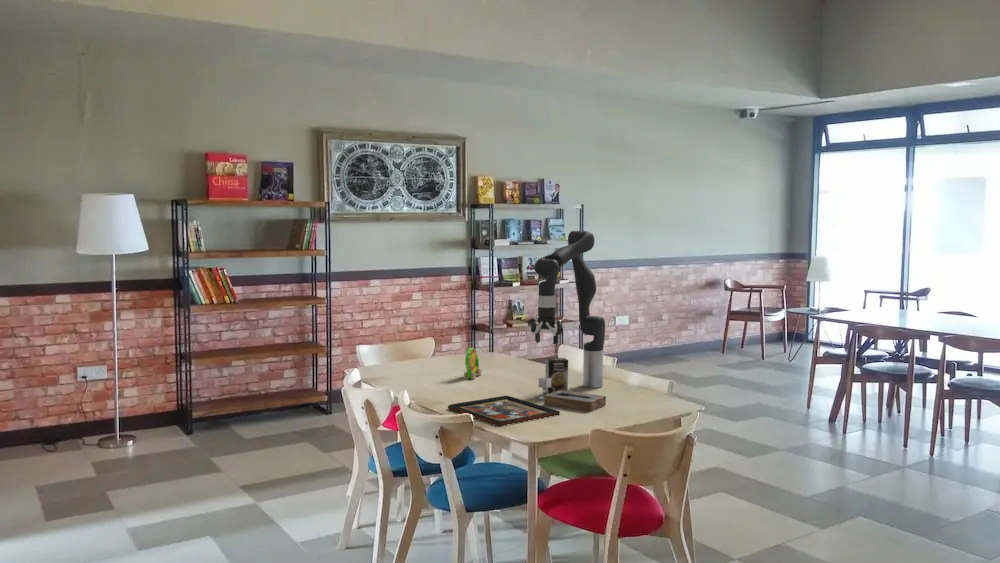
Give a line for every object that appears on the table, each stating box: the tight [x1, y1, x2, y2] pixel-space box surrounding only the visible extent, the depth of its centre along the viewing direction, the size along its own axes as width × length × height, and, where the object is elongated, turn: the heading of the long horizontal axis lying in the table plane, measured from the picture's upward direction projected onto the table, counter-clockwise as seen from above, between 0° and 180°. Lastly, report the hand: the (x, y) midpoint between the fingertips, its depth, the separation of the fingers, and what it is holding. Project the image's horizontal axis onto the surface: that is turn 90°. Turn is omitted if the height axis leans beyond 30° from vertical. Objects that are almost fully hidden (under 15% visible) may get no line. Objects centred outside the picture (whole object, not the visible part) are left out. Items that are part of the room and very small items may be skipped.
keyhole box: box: [543, 390, 607, 413], centre depth 344 cm, size 14×22×4 cm, turn 56°
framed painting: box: [447, 395, 561, 427], centre depth 331 cm, size 38×35×3 cm
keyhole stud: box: [538, 376, 551, 401], centre depth 354 cm, size 4×4×10 cm
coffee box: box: [544, 357, 569, 394], centre depth 365 cm, size 9×6×16 cm
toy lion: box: [463, 347, 482, 380], centre depth 401 cm, size 16×5×15 cm, turn 164°
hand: (546, 343), depth 348 cm, fingers open, 8 cm apart
